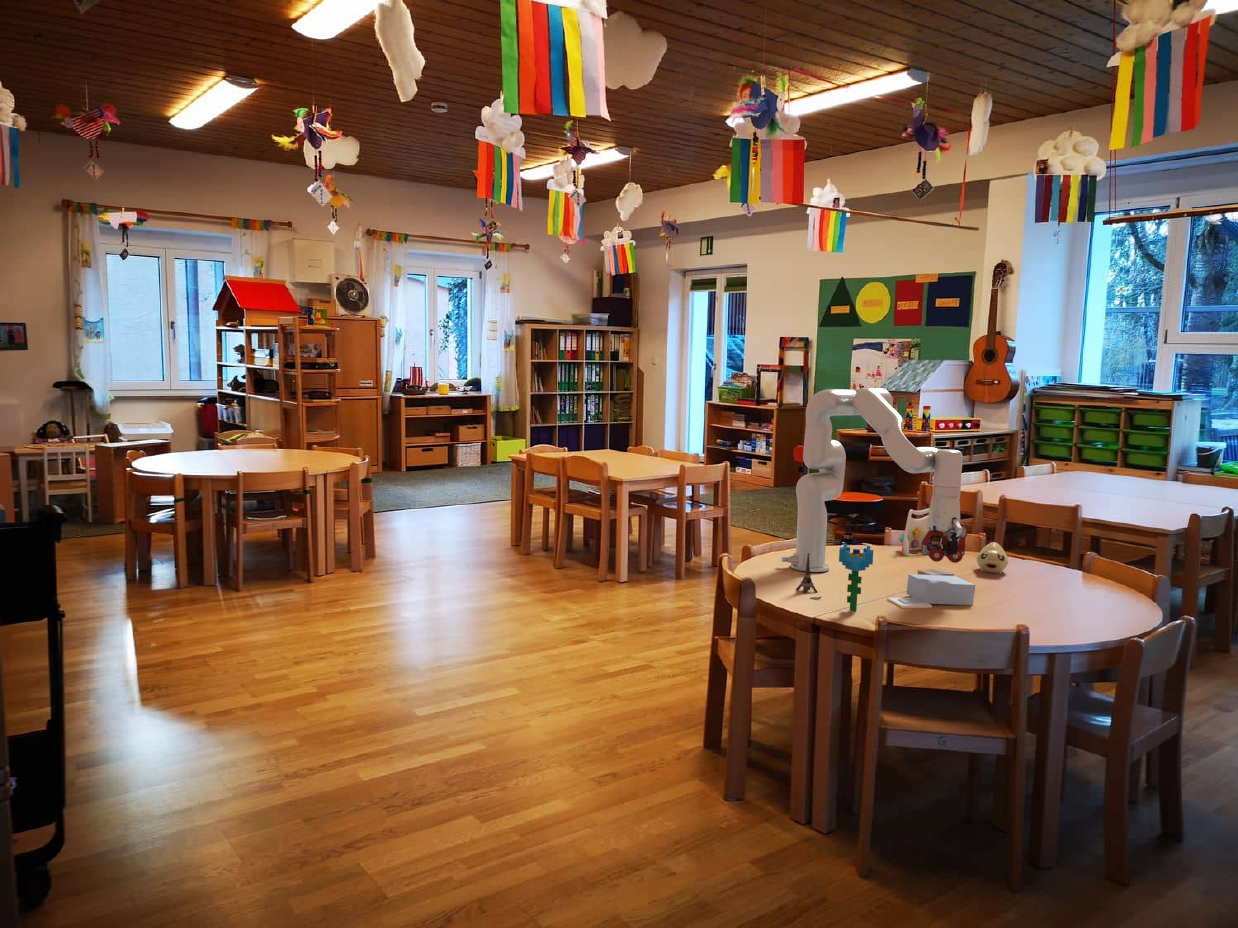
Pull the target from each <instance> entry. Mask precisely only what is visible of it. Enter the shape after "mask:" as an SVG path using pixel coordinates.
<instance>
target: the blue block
mask: <svg viewBox="0 0 1238 928" xmlns="http://www.w3.org/2000/svg"><path fill="white" fill-rule="evenodd" d="M917 574H918V573H916V574H912V573H908V577H907V585H906V595H908V596H910V598H912V597H913V598H915V599H917V600H919V601H921V602H923V603H925V604H930V605H954V606H955V605H958V606H959V605H960V606H961V605H962V606H963V605H964V606H974V599H975V591H976V584H975V583H973V582H970V581H967V580H965V579H962V578H960V577H958V576H956V575H954V576H943V575H917Z"/></svg>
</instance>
